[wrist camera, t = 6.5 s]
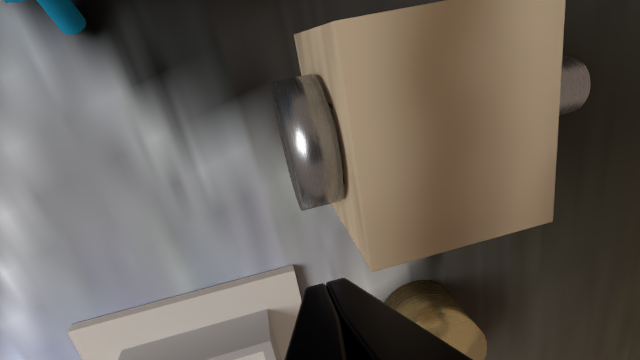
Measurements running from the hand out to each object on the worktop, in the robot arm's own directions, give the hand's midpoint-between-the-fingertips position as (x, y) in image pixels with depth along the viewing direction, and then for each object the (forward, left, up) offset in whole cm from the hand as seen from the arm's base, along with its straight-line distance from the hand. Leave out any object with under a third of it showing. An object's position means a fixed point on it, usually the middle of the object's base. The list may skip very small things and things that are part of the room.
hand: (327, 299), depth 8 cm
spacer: (-7, +13, -12) cm, 19 cm away
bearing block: (-6, -1, -12) cm, 13 cm away
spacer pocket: (+6, +13, -12) cm, 19 cm away
